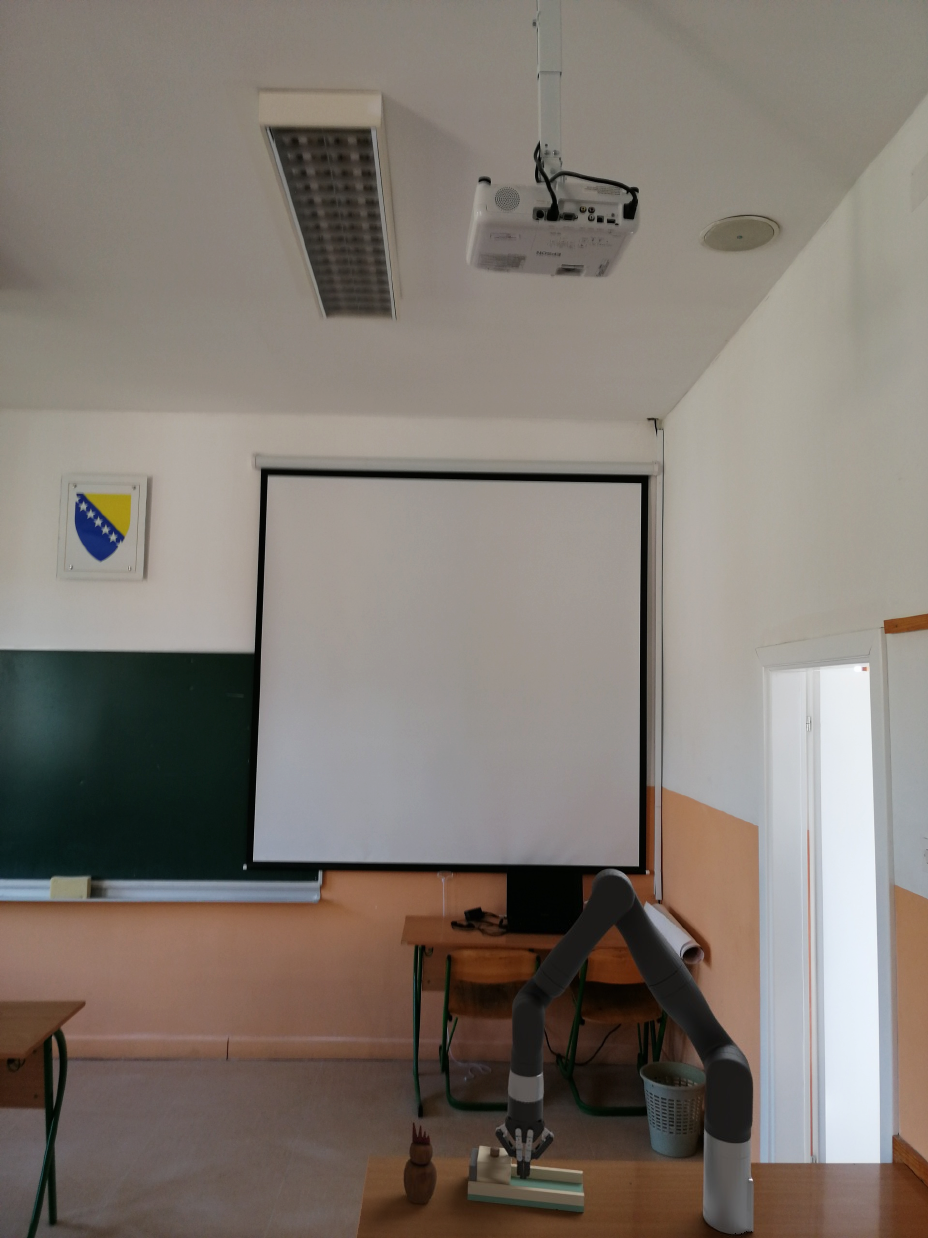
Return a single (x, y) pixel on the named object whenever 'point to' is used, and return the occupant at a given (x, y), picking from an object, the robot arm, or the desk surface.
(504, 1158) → the cream knobbed cube
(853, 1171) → the desk surface
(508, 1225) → the desk surface
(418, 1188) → the wooden figurine
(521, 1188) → the rail
